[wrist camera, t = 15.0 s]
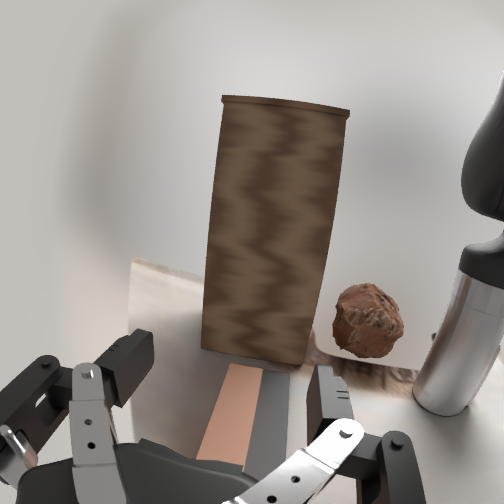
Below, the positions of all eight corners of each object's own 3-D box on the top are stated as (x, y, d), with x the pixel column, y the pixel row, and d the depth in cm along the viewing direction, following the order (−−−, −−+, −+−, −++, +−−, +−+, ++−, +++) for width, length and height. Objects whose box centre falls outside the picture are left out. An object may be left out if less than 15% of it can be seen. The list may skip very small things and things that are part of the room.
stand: (301, 318, 49) (331, 133, 41) (304, 366, 35) (349, 110, 27) (222, 306, 50) (242, 121, 42) (198, 348, 36) (222, 94, 28)
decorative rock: (323, 324, 48) (335, 271, 45) (379, 330, 47) (394, 280, 44) (332, 367, 35) (351, 302, 33) (401, 370, 34) (425, 311, 31)
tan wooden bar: (258, 391, 28) (262, 368, 28) (217, 576, 7) (219, 572, 6) (227, 386, 29) (230, 363, 28) (165, 563, 7) (157, 556, 7)
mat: (288, 377, 32) (289, 373, 32) (280, 501, 15) (282, 499, 15) (237, 369, 33) (238, 365, 33) (200, 488, 16) (200, 486, 15)
